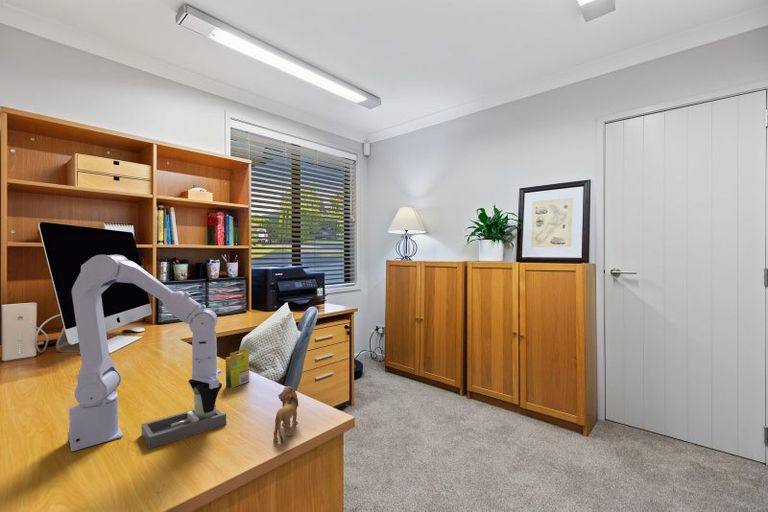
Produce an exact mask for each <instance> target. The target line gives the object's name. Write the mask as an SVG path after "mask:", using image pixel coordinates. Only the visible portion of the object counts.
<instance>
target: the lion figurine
mask: <svg viewBox="0 0 768 512" xmlns="http://www.w3.org/2000/svg"><path fill="white" fill-rule="evenodd" d="M278 400H280V402H282V405H281V406H282V407H281V408H279V410H278V411H277V413H276V416H275V420H274V423H275V424H274V431H273V441H272V442H278V441H279V439H280V444H281V445H282V444H284V442H285V441H284V438H283V436H282V431H281V430H282V429H281V427H282V426H283V427H285V428H286V430H285V431H286V432H285V433H286V434H287V436H288V437H292V436H293V435H294V433H293V432H292V431H291V429H290V428H291V423H292V425H297V424H298V421H297V417H298V415H297V414H298V411H297V410H298V407H299V399H298V393H297V392H296V390H295V388H293V387H292V386H290V385H289V386H284V387H283V390H282V391H281V392H280V393H279V394H278ZM291 419H292V421H291ZM278 436H279V437H278Z"/></svg>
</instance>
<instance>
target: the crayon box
mask: <svg viewBox="0 0 768 512" xmlns="http://www.w3.org/2000/svg"><path fill="white" fill-rule="evenodd" d="M224 360H225V387H226V388H229V389H233V388H235V387H239V386H240V385H243V384H246V383H249V382H250V361H249V347H247V348H243V349H240V350H235V351H233V352H230V353H229V356H227V357H225V359H224Z"/></svg>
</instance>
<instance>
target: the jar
mask: <svg viewBox="0 0 768 512" xmlns="http://www.w3.org/2000/svg"><path fill="white" fill-rule="evenodd" d="M201 385H205V384H201ZM201 385H198V386H201ZM196 387H197V386H196ZM196 387H194V392H193V398H194V399H193V401H194V404H193V405H194V406H193V407H194V409H195V415H196V416H197V417H198V418H199V420H203V419H206V418H209V417H213V416H215V406H214V410H213V411H211V412H208V413H204V411H203V406H202V400H201V396H200V394H199V391H198V390H197V388H196Z"/></svg>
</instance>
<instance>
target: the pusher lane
mask: <svg viewBox="0 0 768 512" xmlns="http://www.w3.org/2000/svg"><path fill="white" fill-rule="evenodd" d="M189 411H192V412H193V413H194V414H195V408H194V409H191V410H188V411H183V412H180V413H178V414H174V415H169V416H166V417H163V418H159V419H155V420H152V421H149V422H145V423H141V436H142V438H143V440H144V442H145V443H146V445H147V447H148V448H149V450H150V449H153V448H156V447H160V446H163V445H167V444H169V443H172V442H175V441H178V440H179V441H180V440H182V439H184V438H187V437H190V436H194V435H197V434H199V433H203V432H206V431H210V430H213V429H216V428H218V427H221V426H224V425H227V413H226V412H223V413H222V412H221V411H220V410H219V409H217V407H216V404H215V416H213V417H209V418H206V419H203V420H199V421H196V422H193V423H187V424H183V425H180V426H177V427H173V428H171V427H170V424H172V423H175V422H179V421H182V420H186V419H187V412H189Z"/></svg>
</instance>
